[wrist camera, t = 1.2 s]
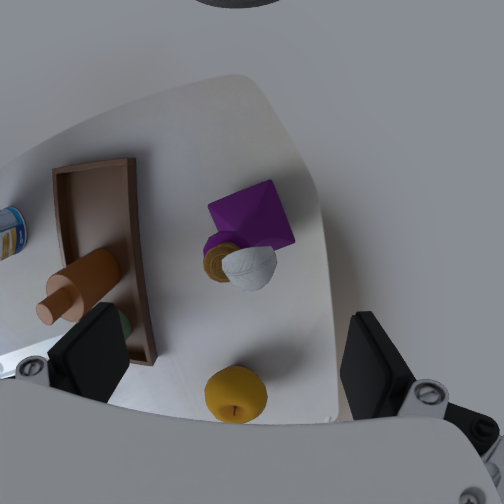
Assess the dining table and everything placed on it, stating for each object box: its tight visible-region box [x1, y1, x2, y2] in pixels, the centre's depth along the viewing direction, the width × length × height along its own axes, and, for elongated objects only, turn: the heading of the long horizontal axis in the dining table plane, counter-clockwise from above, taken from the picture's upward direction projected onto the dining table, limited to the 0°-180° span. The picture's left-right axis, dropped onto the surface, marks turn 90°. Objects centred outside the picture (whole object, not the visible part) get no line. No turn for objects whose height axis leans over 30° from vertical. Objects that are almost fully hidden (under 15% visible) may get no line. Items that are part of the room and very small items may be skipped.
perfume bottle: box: [203, 180, 295, 291], centre depth 25 cm, size 8×8×18 cm
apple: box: [205, 366, 268, 424], centre depth 37 cm, size 9×9×9 cm
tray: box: [52, 158, 158, 366], centre depth 36 cm, size 30×13×2 cm, turn 179°
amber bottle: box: [36, 249, 121, 325], centre depth 30 cm, size 6×6×14 cm
